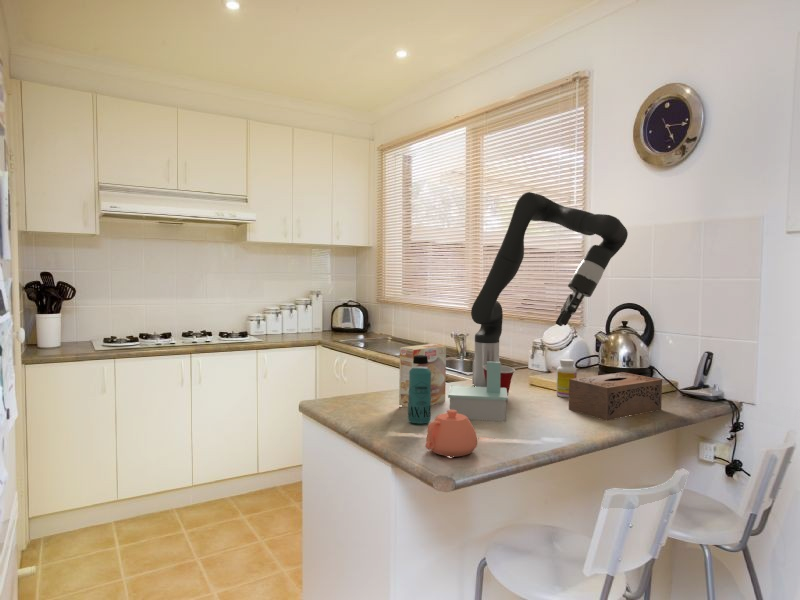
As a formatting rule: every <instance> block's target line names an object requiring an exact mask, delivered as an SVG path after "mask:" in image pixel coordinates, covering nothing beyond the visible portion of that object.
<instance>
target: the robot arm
mask: <svg viewBox="0 0 800 600" xmlns="http://www.w3.org/2000/svg"><path fill="white" fill-rule="evenodd" d="M532 221H534V222H546V223H554V224H556V225H560V226H562V227H564V228H565V229H568V230H570V231H572V232H576V233H578V234H581V235H585V236H588V237H589V236H594V235H597V236H599V237H601V239H602V240H601V242H600V243H599V244H594V245H591V246H590V248H589V249H588V250H587V252H586V254H585V256H584V258H583V259H582V261H581V262H580V264H579V265H578V267H577V268H576V270H575V272H574V273H573V275H572V277H571V279H570V281H568V284H567V286H568V289H570V290H572V293H569V294H568V296H567V297H566V300H565V301H564V303H563V305H562V308H561V309H560V312H559V313H560V314H559V316H558V317H557V319H556V321H555V325H557V326H559V327H563V326H566V325H568V323H569V321H570V319H571V318H572V316H574V314H575V313H576V312H577V310H578V309H579V307H580V305H581V304H582V302H583V299H584V298H585V297H586V298H590V297H592V295H593V293H594V291H595V289H596V288H597V286H598V284H599V282H600V281H601V279H602V277H603V274H604V272H605V270H606V268H607V266H608V265H609V263H610V261H611V260H612V258H613V257H614V256H615V255H616V254H617V253H618V252H619V251H620V250H621V249H622V248H623V246H624V245H625V243H626V242H627V239H628V234H629V232H628V230H627V227H625V225H624V224H623V223H622V222H621V220H620V219H619V218H617V217H616V216H613V215H610V214H602V213H596V214H595V213H592V212H589V211H586V210H582V209H578V208H572V207H568V206H564V205H561V204H559V203H557V202H555V201H553V200H551V199H549V198H547V197H546V196H544V195H542V194H538V193H535V192H531V191H527V192H524V193H522V194H521V195H520V196H519V198H518V199H517V201H516V203H515V207H514V210H513V212H512V215H511V219H510V221H509V225H508V227H507V230H506V233H505V235H504V237H503V240H502V242H501V245H500V248H499V250H498V251H497V254H496V255H495V258H494V261H493V264H492V266H491V268H490V270H489V273H488V275H487V277H486V279H485V282H484V284H483V286H482V288H481V290H480V292H479V293H478V296H476V299H475V300H474V302H473V304H472V307H471V310H470V316H471V320H472V321H473V322H474V323H475V324H478V325H480V329H478V331H477V332H476V333H475V335H474V359H473V360H472V384H474V385H473V387H474V386H476V387H486V380H485V374H484V369H483V367H482V366H483V365H487V361H491V362H500V338H501V335H502V331H503V318H504V317H503V316H504V315H503V312H504V311H503V307H502V304H501V303H500V301H498V298H499V296H500V295H501V294H502V292H503V291H504V289H505V288H506V287H507V286H508V285H509V284H510V282H511V281H512V280H513V279H514V278H515V277H516V275H517V273H518V271H519V269H520V266H521V265H522V263H523V261H524V255H525V235H526V232H527V229H528V226H530V225H529V224H530V223H531V222H532Z"/></svg>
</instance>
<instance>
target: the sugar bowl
mask: <svg viewBox="0 0 800 600" xmlns="http://www.w3.org/2000/svg"><path fill="white" fill-rule="evenodd" d="M426 428H427V429H426V430H427V431H426V432H427V434H426V439H425V440H426V441H425V448H426V449H427V450H430V451H432V452H433V453H434V454H437V455H440V456H444V457H447V456H450V457H453V456H455V457H462V456H467V455H469V454H471V453H472V452H473V451H475V449H476V448H477V446H478V436H477V432H476V429H475V428H474V426H473V424H472V422H471V421H470V420H469V419H468V418H467V417H466V416H465V415H462V414H458V413H457V411H456V410H450V409H447V410H446V412H444V413H440V414H437V416H436V417H434V420H432V421H431V422H429V424H428V425H427V427H426Z"/></svg>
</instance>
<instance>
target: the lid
mask: <svg viewBox="0 0 800 600" xmlns="http://www.w3.org/2000/svg"><path fill="white" fill-rule="evenodd" d="M501 365H502V363H501V361H499V362H491V361H487V387H474V385H471V386H468V385H451V386H450V388H449V391H448V393H447V398H448V399H450V398H466V399H487V400H507V401H508V398H509V397H508V396H509V395H508V396H507V389H506V388H500V377H501Z"/></svg>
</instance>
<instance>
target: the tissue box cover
mask: <svg viewBox="0 0 800 600" xmlns="http://www.w3.org/2000/svg"><path fill="white" fill-rule="evenodd" d="M662 396H663V379H660V378H654V377H650V376H644V375H639V374H634V373H630V372H624V371H621V372H616V373H607V374H600V375H599V374H598V375H591V376H583V377H576V378H574V379H569V398H568V410H570V411H572V412H576V413H579V414H583V415H587V416H588V417H589V416H590V417H593V418H596V419H599V418H600V420H603V421H606V420H607V421H611V420H610V419H612V420H616V419H615V418H617V419H620V417H622V418H626V417H625V416H627V417H630V416H629V415H632V416H636V415H635V414H638V415H641V414H640V413H643V414H646V412H648V413H652V412H651V411H653V412H657V411H656V410H658V411H662V400H663V399H662Z"/></svg>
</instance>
